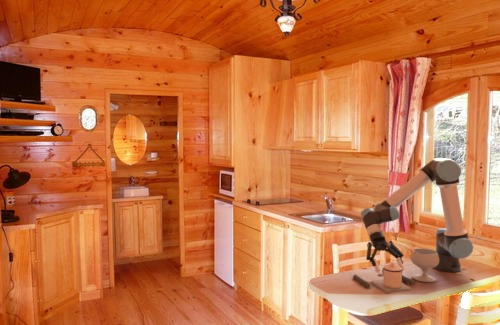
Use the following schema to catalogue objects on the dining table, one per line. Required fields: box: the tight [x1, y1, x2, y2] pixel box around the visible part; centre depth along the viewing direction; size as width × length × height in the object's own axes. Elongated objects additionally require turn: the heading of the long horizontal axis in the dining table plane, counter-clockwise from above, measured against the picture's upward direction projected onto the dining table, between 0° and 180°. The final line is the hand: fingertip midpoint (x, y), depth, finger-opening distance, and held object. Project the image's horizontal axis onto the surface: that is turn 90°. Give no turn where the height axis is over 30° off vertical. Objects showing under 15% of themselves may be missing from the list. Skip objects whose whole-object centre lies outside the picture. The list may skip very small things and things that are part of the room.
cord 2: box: [402, 274, 414, 286], centre depth 218 cm, size 15×2×2 cm, turn 13°
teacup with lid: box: [381, 261, 403, 288], centre depth 209 cm, size 12×9×12 cm
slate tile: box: [370, 279, 412, 293], centre depth 209 cm, size 14×14×1 cm
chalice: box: [410, 248, 439, 283], centre depth 220 cm, size 14×14×15 cm
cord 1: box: [352, 274, 371, 289], centre depth 213 cm, size 15×2×2 cm, turn 13°
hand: (390, 270), depth 208 cm, fingers open, 13 cm apart
